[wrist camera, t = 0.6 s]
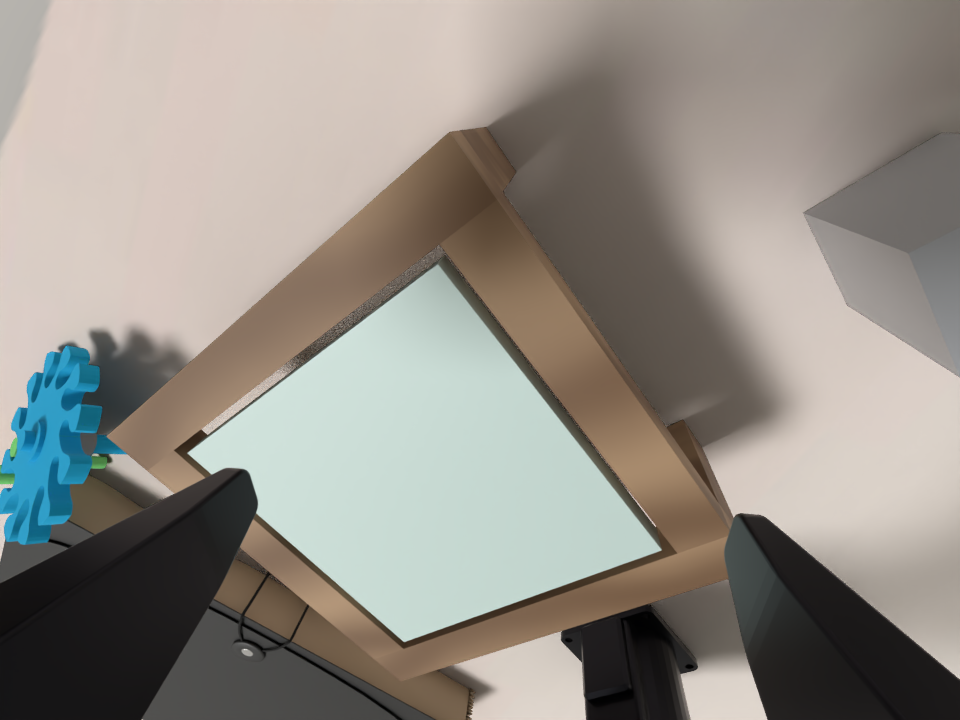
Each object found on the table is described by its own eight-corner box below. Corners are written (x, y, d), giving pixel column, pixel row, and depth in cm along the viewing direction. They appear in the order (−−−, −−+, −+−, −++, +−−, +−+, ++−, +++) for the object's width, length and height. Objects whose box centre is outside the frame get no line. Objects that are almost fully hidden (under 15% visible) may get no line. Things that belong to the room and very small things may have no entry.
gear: (77, 313, 22) (46, 531, 19) (202, 342, 27) (195, 519, 24) (-4, 382, 28) (-40, 563, 24) (114, 396, 32) (98, 548, 29)
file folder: (471, 745, 32) (323, 819, 44) (480, 682, 36) (341, 765, 47) (11, 496, 27) (-25, 655, 38) (76, 451, 30) (26, 608, 41)
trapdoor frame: (702, 448, 23) (756, 569, 17) (432, 564, 30) (400, 681, 23) (486, 127, 18) (449, 131, 12) (218, 356, 24) (106, 436, 18)
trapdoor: (410, 621, 23) (404, 642, 22) (204, 437, 19) (187, 453, 18) (656, 529, 18) (661, 550, 17) (444, 254, 14) (437, 264, 13)
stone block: (979, 240, 17) (1166, 294, 12) (846, 305, 19) (959, 377, 14) (940, 132, 16) (1132, 139, 11) (802, 212, 18) (908, 253, 12)
